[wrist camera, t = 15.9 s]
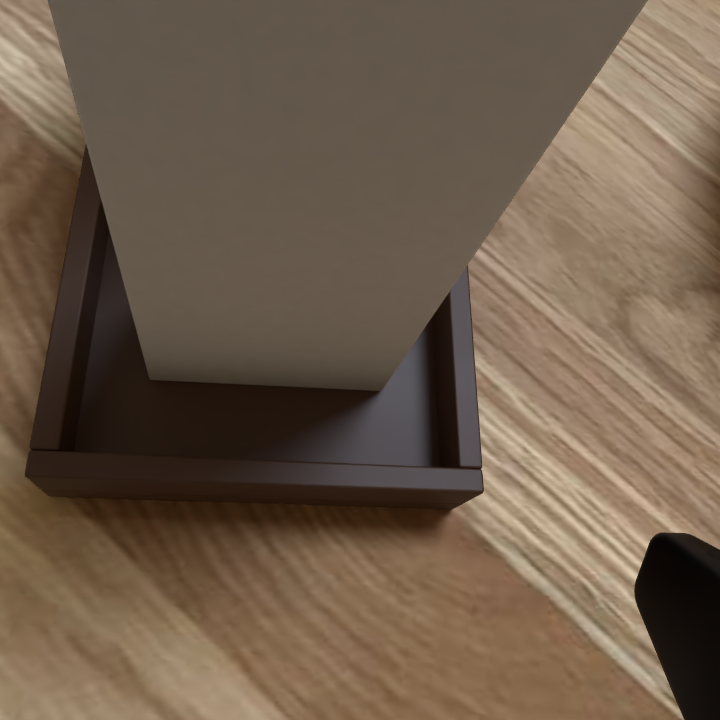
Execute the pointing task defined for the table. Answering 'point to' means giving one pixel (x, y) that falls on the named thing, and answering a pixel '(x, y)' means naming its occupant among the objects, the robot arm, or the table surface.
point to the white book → (314, 164)
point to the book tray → (242, 410)
